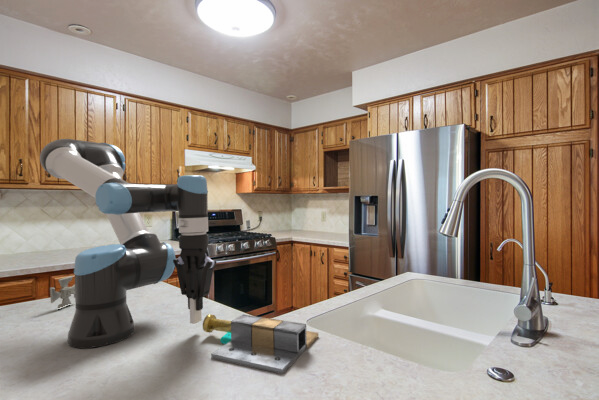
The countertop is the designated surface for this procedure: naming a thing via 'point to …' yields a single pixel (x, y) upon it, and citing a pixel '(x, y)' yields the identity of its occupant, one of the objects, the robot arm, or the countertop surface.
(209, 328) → the pin
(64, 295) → the cross
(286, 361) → the sliding bolt latch
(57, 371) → the countertop surface
